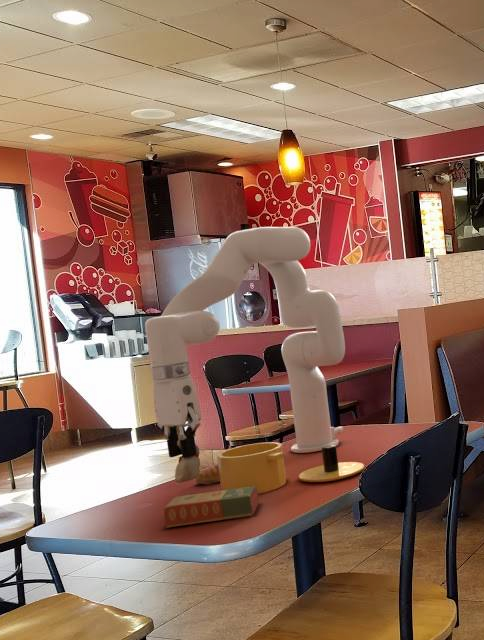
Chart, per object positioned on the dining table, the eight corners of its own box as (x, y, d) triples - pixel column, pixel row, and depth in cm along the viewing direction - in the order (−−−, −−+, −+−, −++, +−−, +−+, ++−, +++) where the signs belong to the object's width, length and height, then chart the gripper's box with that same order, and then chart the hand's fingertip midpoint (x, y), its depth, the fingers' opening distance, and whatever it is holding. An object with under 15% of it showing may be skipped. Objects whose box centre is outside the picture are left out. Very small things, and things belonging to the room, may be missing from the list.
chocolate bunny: (212, 472, 163) (205, 427, 163) (182, 483, 157) (175, 436, 156) (195, 471, 166) (188, 427, 166) (165, 482, 159) (158, 436, 159)
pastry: (201, 487, 171) (199, 471, 171) (192, 483, 176) (190, 467, 176) (241, 477, 177) (239, 461, 177) (231, 474, 182) (229, 458, 182)
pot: (250, 476, 176) (246, 441, 176) (307, 480, 166) (302, 443, 166) (201, 494, 165) (196, 456, 165) (258, 499, 155) (253, 459, 154)
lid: (332, 465, 179) (328, 438, 179) (377, 467, 171) (374, 439, 171) (285, 482, 167) (281, 453, 166) (332, 486, 159) (328, 455, 158)
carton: (177, 516, 148) (174, 495, 148) (259, 504, 151) (257, 483, 150) (165, 529, 140) (162, 506, 140) (253, 516, 142) (250, 494, 142)
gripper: (210, 368, 159) (222, 452, 160) (163, 370, 168) (175, 450, 169) (179, 375, 153) (191, 462, 154) (132, 376, 162) (144, 459, 163)
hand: (182, 455), depth 161 cm, fingers closed on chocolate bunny, 3 cm apart
